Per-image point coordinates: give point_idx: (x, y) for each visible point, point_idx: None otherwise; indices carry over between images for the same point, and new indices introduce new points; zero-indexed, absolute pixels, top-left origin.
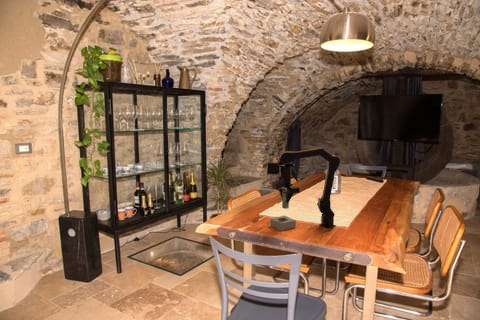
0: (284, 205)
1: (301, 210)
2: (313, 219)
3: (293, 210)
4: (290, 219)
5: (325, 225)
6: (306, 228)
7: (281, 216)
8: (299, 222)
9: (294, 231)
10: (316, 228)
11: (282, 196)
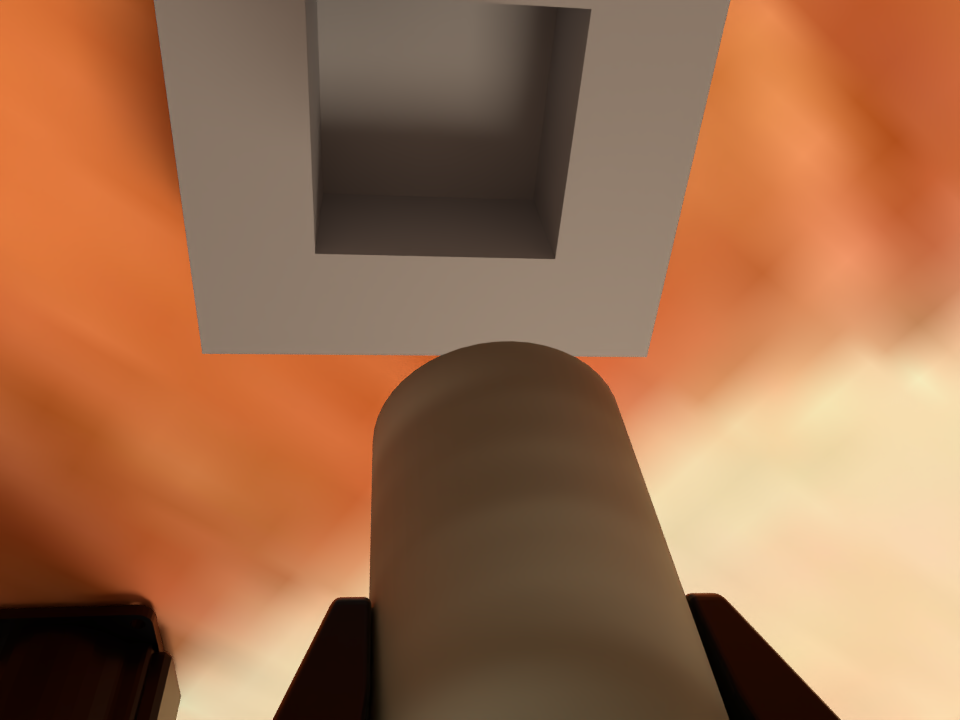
0: (432, 446)
1: None
2: None
3: (893, 651)
4: (327, 296)
5: (9, 644)
6: (104, 392)
7: (649, 253)
8: None
9: (34, 104)
10: (35, 509)
11: None
